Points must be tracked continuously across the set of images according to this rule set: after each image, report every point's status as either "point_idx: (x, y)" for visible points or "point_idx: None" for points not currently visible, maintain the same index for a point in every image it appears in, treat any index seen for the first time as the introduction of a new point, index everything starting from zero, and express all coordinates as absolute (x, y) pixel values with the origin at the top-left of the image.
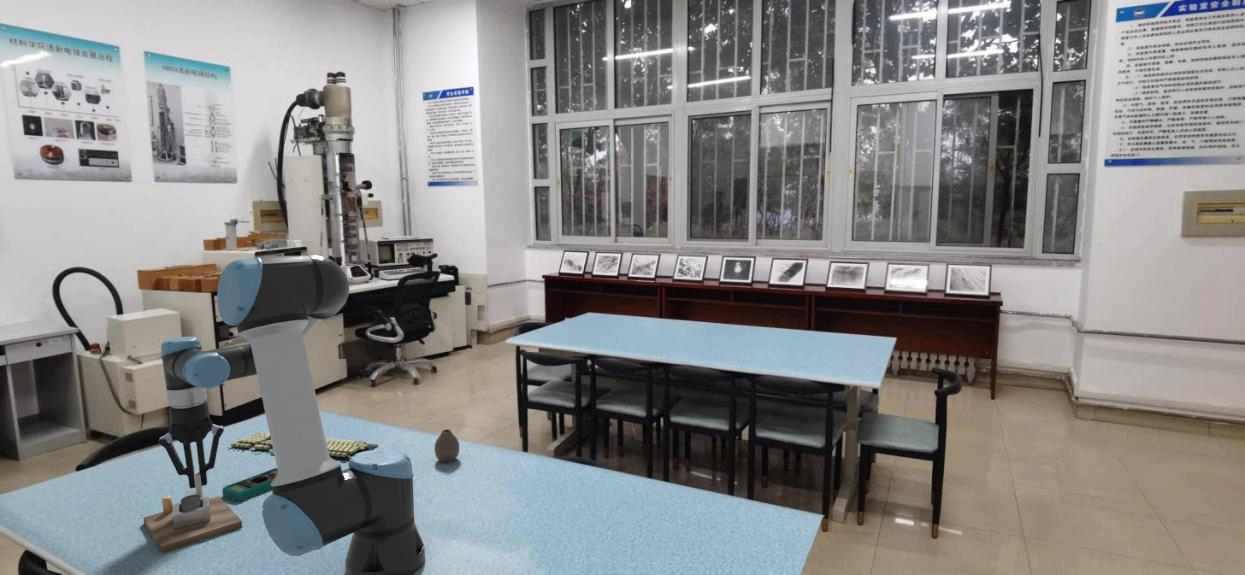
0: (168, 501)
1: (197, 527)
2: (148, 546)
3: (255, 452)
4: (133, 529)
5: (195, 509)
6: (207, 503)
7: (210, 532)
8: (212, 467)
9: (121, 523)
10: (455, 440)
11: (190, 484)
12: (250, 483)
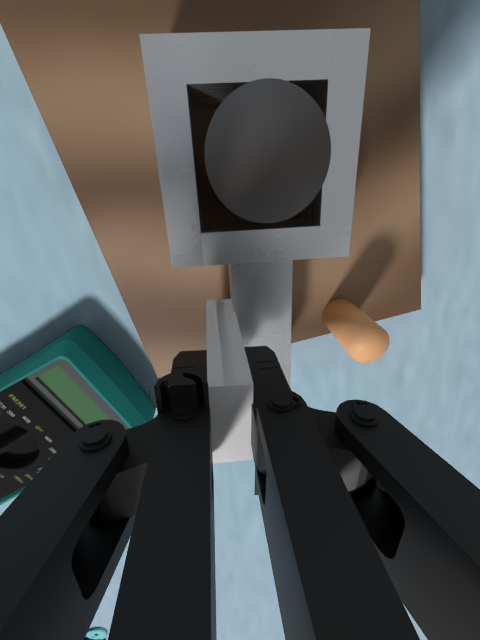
0: (358, 320)
1: (220, 7)
2: (427, 20)
3: (102, 637)
4: (440, 268)
5: (231, 62)
6: (163, 140)
7: None
8: (88, 428)
9: (460, 341)
10: None
11: (270, 359)
12: (37, 427)
